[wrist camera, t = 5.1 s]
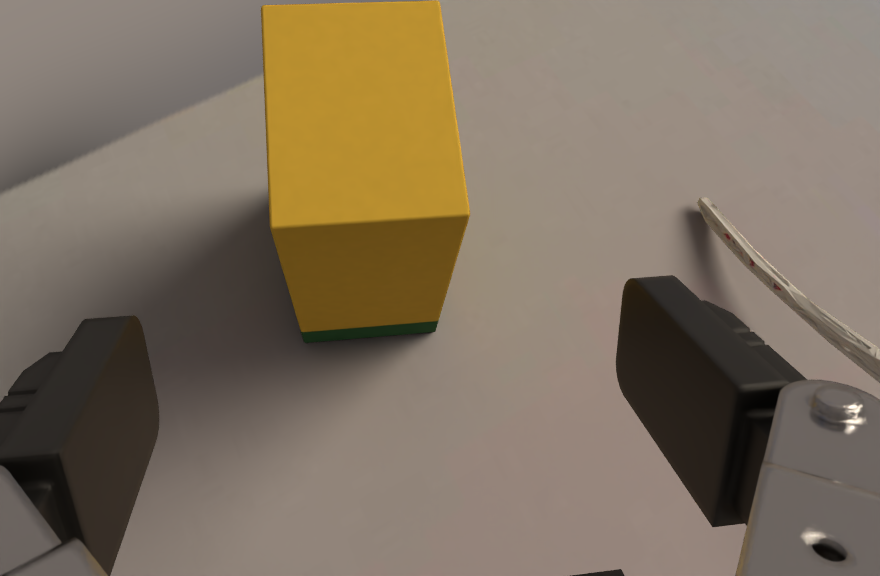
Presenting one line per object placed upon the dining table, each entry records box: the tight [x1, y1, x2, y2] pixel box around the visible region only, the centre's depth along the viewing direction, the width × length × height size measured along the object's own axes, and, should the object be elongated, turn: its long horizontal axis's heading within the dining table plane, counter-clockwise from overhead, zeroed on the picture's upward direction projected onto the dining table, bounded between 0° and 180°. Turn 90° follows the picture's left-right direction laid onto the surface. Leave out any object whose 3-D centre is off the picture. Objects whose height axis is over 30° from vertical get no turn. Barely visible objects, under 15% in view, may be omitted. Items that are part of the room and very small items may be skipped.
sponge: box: [261, 1, 470, 343], centre depth 21 cm, size 4×6×9 cm
